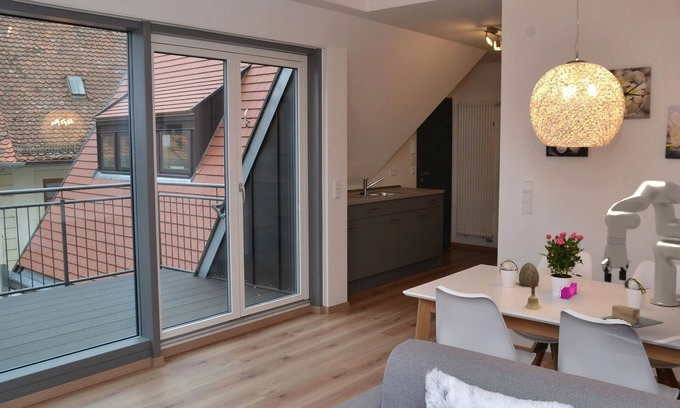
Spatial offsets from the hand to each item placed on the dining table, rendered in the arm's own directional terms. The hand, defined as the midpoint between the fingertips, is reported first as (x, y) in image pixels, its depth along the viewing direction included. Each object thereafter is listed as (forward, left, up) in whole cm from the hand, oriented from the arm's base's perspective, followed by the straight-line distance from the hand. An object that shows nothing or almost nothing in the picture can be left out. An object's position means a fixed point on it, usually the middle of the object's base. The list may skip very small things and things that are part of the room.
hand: (615, 281), depth 267 cm
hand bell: (+9, -38, -19) cm, 44 cm away
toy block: (-21, -46, -19) cm, 54 cm away
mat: (-12, 0, -19) cm, 22 cm away
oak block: (-8, 0, -19) cm, 20 cm away
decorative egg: (-21, -71, -19) cm, 76 cm away
